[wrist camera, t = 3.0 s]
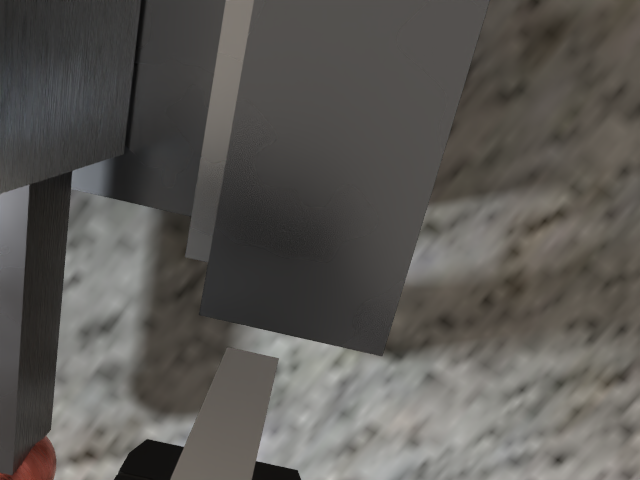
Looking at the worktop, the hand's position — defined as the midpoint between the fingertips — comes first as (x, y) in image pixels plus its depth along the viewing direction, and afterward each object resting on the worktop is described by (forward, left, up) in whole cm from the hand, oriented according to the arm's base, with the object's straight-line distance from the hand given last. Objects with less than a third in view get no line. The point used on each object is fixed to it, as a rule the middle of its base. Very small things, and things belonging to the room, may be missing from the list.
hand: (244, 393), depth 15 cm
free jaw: (-7, +4, -2) cm, 8 cm away
